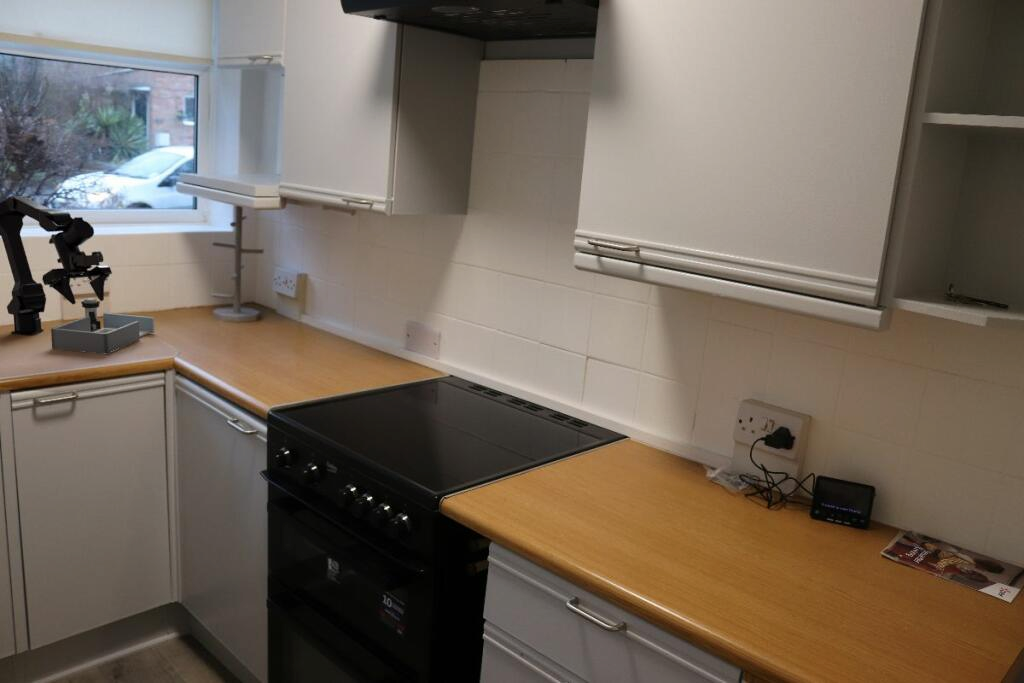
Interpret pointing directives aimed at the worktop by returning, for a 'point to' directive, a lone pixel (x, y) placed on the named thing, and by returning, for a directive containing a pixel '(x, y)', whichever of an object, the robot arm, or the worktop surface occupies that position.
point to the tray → (126, 323)
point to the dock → (92, 337)
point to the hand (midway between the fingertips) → (88, 302)
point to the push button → (92, 312)
